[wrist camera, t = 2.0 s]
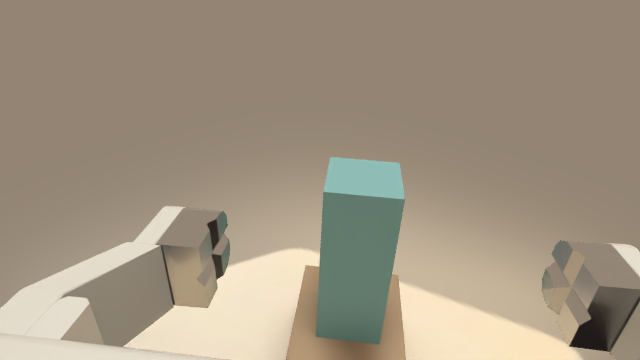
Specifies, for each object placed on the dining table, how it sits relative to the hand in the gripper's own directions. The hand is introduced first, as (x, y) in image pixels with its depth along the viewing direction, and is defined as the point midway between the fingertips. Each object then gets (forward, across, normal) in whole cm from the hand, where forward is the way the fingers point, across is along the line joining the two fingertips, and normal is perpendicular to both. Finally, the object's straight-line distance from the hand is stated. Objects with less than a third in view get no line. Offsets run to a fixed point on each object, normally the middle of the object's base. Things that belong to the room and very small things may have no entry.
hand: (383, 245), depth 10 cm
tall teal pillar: (+13, 0, +17) cm, 21 cm away
